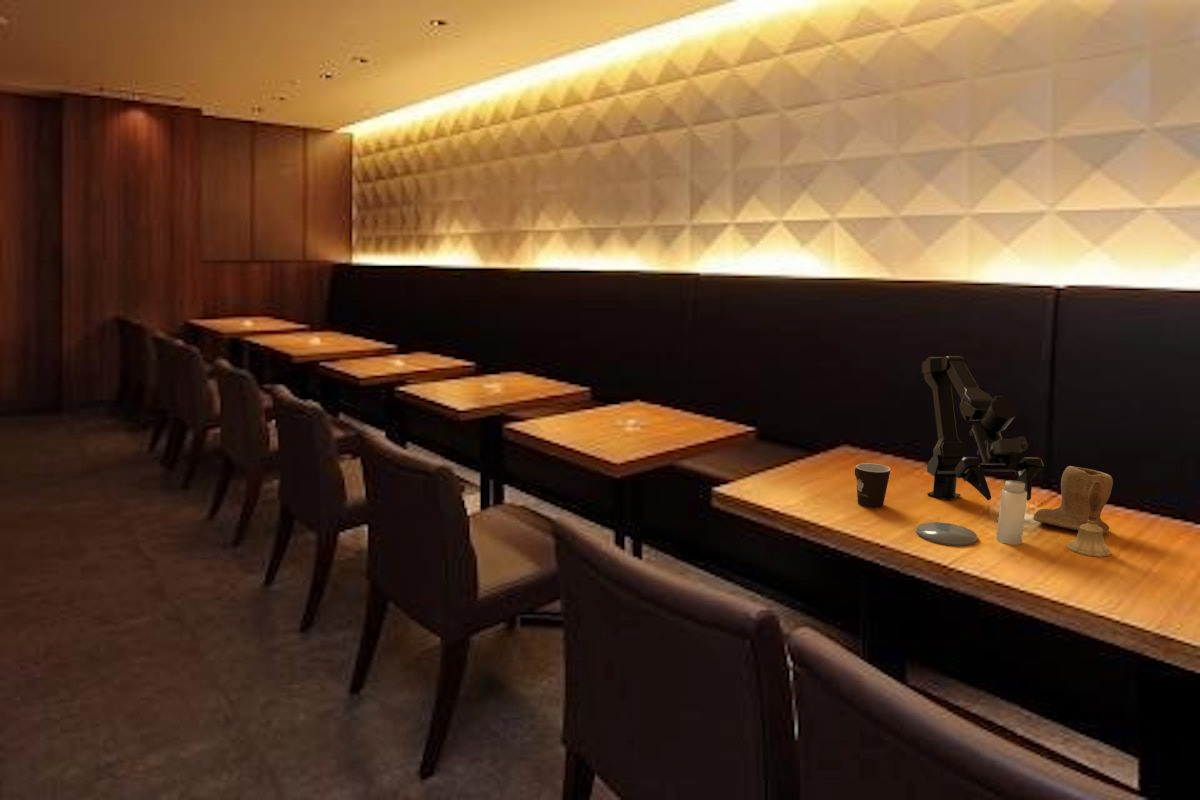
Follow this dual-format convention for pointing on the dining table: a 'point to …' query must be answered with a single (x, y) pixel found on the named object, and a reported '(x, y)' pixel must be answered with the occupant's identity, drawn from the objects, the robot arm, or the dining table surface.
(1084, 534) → the hand bell
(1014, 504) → the capped bottle
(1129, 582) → the dining table surface
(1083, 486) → the brown boot
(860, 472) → the coffee mug
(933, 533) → the slate plate
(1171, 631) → the dining table surface
